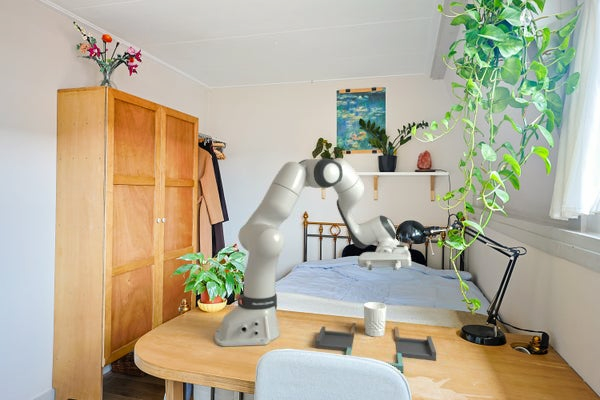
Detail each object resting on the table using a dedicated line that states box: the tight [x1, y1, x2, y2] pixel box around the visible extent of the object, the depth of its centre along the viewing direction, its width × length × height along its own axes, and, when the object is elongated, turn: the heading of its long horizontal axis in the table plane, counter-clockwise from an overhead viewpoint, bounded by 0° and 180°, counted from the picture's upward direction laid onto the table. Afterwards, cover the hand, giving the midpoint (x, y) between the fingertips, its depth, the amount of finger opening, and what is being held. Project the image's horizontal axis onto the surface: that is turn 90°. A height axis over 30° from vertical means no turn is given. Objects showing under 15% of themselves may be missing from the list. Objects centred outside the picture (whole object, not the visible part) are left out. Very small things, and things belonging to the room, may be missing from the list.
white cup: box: [363, 301, 388, 338], centre depth 128 cm, size 8×8×10 cm
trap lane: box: [315, 322, 437, 374], centre depth 118 cm, size 32×36×2 cm
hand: (381, 268), depth 134 cm, fingers open, 8 cm apart
